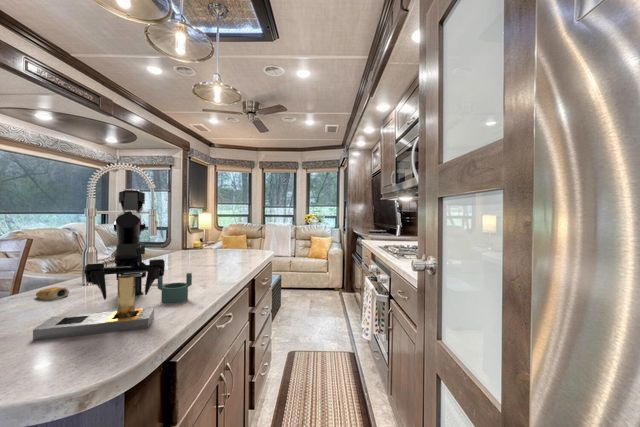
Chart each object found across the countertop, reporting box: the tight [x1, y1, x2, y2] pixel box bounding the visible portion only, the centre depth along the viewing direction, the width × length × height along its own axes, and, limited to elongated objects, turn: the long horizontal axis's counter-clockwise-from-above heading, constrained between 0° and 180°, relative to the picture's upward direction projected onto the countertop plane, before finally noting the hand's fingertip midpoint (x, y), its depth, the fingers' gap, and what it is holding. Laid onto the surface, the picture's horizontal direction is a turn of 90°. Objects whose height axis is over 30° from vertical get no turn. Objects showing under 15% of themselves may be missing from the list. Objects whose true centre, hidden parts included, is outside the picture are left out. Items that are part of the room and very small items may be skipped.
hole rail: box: [32, 307, 155, 341], centre depth 78 cm, size 24×9×3 cm, turn 111°
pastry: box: [35, 286, 70, 301], centre depth 104 cm, size 9×7×4 cm
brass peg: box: [116, 275, 136, 319], centre depth 81 cm, size 4×4×13 cm
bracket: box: [157, 272, 193, 305], centre depth 103 cm, size 9×9×9 cm
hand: (125, 296), depth 79 cm, fingers open, 9 cm apart
